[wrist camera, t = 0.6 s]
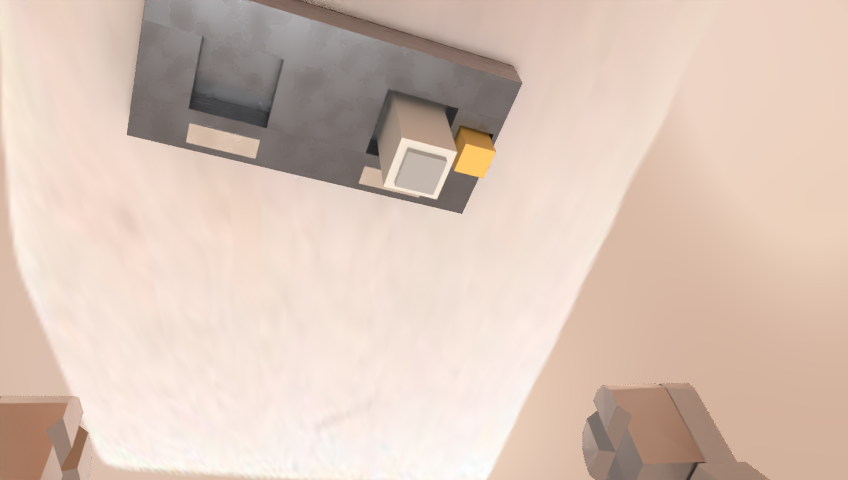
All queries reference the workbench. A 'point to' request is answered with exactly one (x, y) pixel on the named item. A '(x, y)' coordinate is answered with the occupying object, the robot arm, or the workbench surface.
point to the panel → (302, 88)
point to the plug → (414, 145)
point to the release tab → (472, 152)
